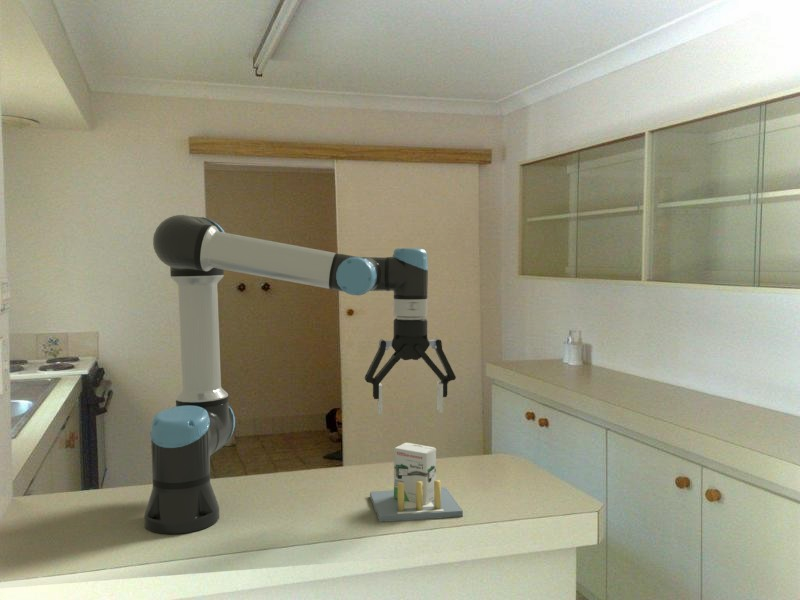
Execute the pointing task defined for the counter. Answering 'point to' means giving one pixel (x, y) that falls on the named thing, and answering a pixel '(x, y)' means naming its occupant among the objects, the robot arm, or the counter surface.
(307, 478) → the counter surface
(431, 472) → the ink box
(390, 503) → the board
